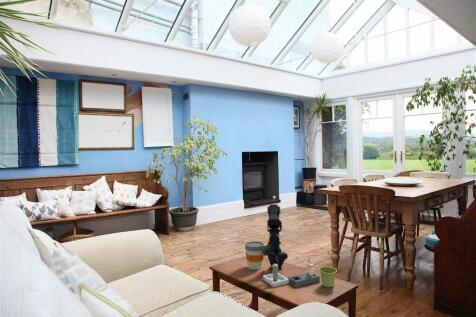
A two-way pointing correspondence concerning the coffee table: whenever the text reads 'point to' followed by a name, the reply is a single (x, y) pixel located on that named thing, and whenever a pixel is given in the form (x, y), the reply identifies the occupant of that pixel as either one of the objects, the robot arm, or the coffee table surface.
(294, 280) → the fuse holder
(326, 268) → the plant pot
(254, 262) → the reusable coffee cup
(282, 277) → the parts tray
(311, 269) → the cylinder
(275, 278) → the cream capped cylinder
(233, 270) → the coffee table surface
